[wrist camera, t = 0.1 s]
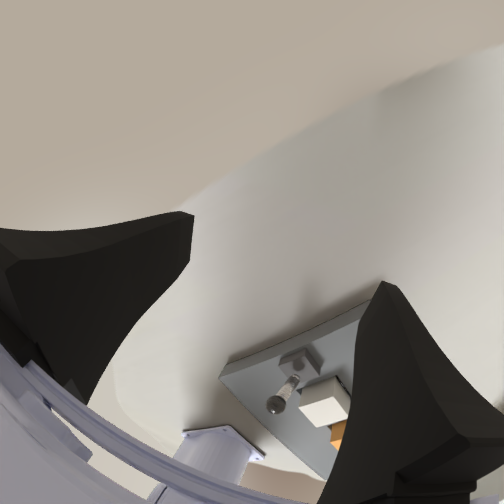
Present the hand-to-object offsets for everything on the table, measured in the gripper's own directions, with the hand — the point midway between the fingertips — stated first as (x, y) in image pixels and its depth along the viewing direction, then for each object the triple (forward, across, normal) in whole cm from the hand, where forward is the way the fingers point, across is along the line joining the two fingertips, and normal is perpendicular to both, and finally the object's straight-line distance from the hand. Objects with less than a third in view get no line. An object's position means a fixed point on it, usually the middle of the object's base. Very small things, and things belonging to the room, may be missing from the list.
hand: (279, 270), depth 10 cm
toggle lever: (+5, -4, +12) cm, 13 cm away
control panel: (+8, -11, +19) cm, 23 cm away
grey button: (+7, -7, +15) cm, 18 cm away
